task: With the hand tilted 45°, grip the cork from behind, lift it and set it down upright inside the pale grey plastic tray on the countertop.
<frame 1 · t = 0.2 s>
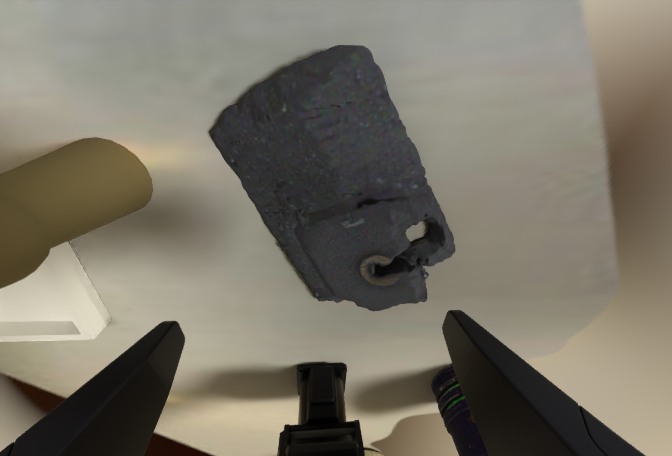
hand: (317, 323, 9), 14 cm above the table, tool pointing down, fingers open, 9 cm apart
tray: (30, 281, 24), on the table
cork: (112, 176, 20), on the table
dark slate chunk: (347, 200, 23), on the table
storage jar: (463, 378, 38), on the table
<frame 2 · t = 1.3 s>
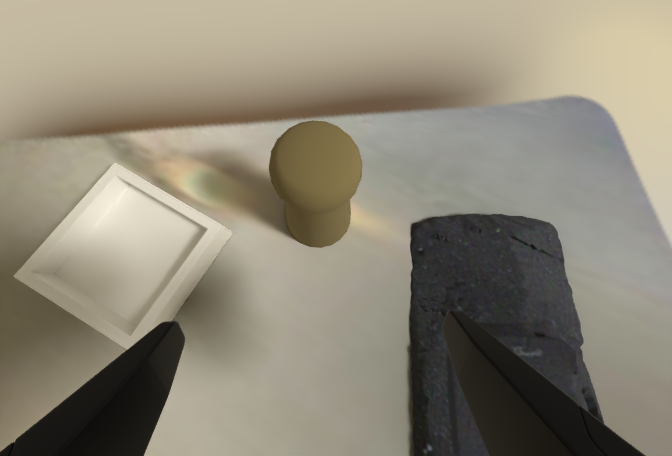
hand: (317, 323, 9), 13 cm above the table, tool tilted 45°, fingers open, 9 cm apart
tray: (144, 254, 22), on the table
cork: (318, 215, 24), on the table
dark slate chunk: (491, 339, 22), on the table
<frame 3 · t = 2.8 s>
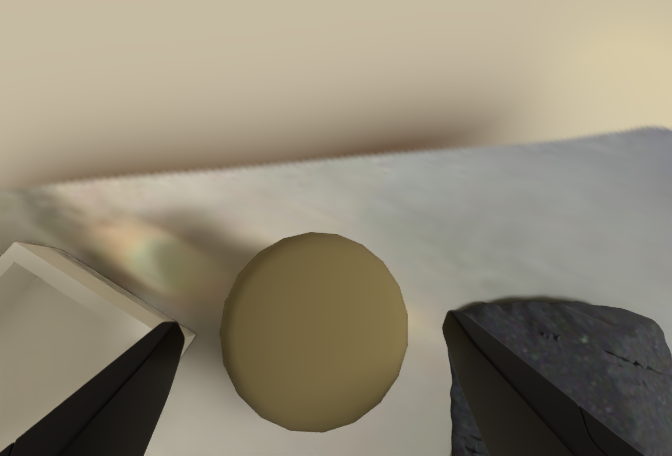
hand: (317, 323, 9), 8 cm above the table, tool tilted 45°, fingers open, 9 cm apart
tray: (63, 372, 15), on the table
cork: (319, 304, 17), on the table
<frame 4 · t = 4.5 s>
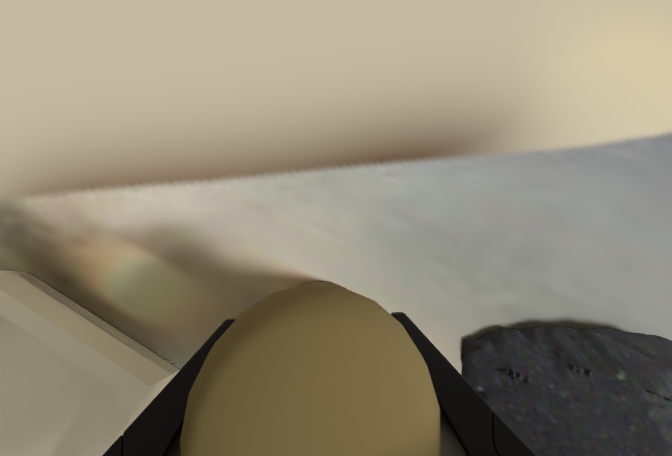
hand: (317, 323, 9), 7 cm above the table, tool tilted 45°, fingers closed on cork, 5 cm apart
tray: (27, 415, 13), on the table
cork: (319, 333, 15), on the table, touching gripper
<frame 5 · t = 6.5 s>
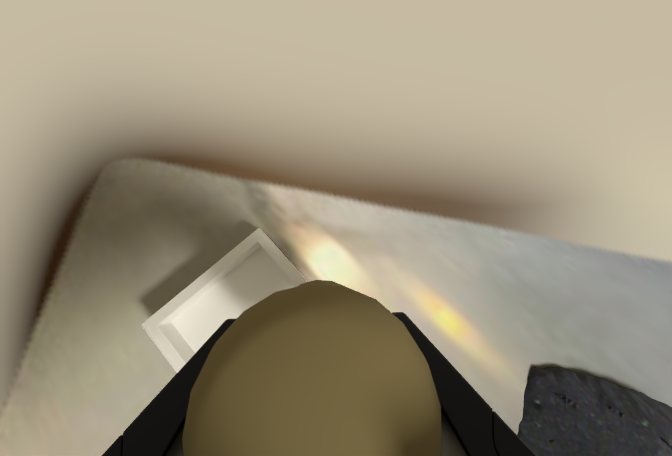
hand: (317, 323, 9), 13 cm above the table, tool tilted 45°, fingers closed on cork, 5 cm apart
tray: (256, 323, 21), on the table
cork: (320, 332, 15), point 6 cm above the table, touching gripper
when the fingers open (9 cm above the table, at t = 8.8 s): cork drops 1 cm, resting on tray.
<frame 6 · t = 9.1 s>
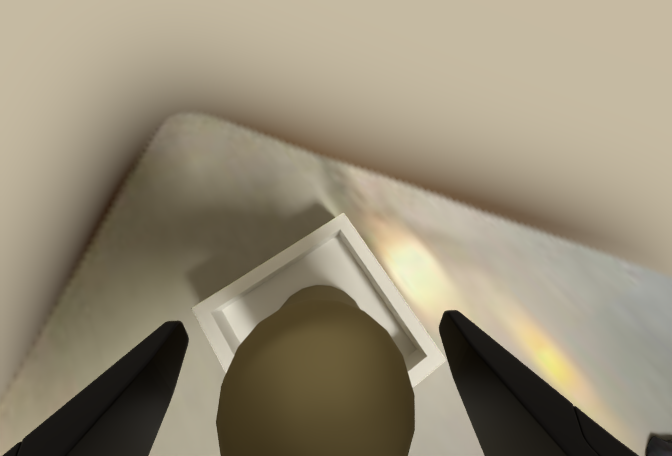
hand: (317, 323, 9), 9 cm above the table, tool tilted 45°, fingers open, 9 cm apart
tray: (319, 327, 17), on the table
cork: (320, 332, 16), point 1 cm above the table, touching tray
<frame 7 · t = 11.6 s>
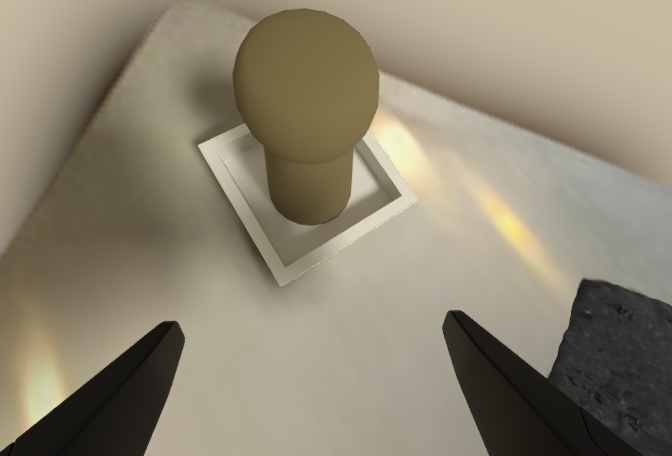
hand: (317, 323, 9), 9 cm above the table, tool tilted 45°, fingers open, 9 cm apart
tray: (310, 186, 19), on the table
cork: (310, 186, 19), point 1 cm above the table, touching tray
dark slate chunk: (624, 451, 18), on the table
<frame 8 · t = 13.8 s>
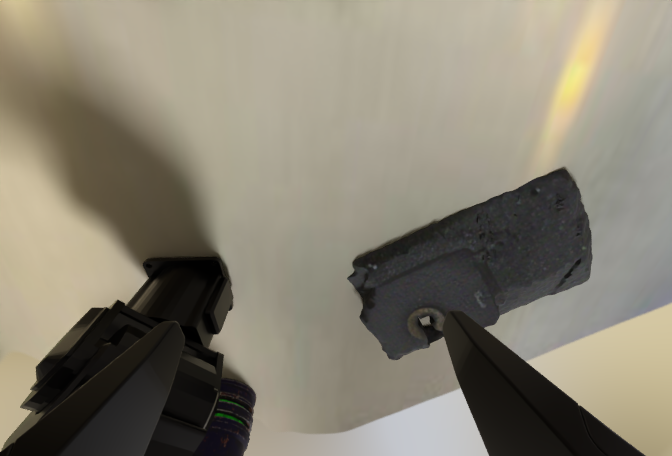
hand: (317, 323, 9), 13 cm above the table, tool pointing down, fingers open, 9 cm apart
dark slate chunk: (460, 269, 26), on the table
storage jar: (220, 395, 35), on the table
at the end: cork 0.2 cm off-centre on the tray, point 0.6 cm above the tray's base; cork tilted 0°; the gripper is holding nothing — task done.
